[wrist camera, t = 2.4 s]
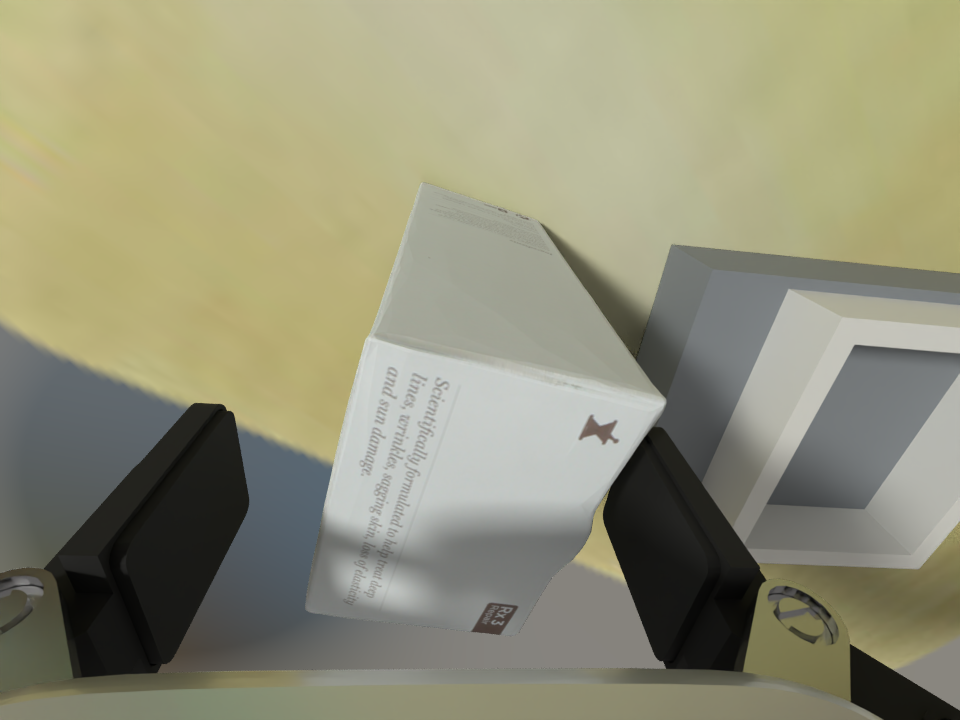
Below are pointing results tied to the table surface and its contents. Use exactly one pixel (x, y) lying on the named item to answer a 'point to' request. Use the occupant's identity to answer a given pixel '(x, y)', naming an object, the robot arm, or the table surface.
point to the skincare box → (474, 428)
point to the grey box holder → (813, 401)
